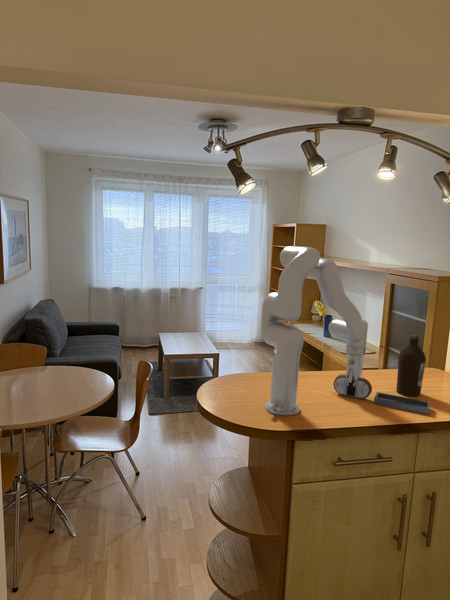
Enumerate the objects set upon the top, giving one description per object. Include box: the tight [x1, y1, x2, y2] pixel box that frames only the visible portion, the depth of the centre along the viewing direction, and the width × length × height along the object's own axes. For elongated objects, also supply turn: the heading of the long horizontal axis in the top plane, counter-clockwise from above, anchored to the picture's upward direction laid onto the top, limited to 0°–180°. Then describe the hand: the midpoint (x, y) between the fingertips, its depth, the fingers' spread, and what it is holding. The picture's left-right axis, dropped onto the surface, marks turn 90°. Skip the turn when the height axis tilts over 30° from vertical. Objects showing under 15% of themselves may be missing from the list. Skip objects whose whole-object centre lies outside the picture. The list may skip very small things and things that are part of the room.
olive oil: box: [395, 334, 427, 398], centre depth 181 cm, size 11×11×25 cm
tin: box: [333, 373, 373, 400], centre depth 174 cm, size 15×3×8 cm, turn 62°
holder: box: [373, 391, 431, 416], centre depth 167 cm, size 8×20×2 cm, turn 62°
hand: (351, 393), depth 174 cm, fingers closed on tin, 2 cm apart
